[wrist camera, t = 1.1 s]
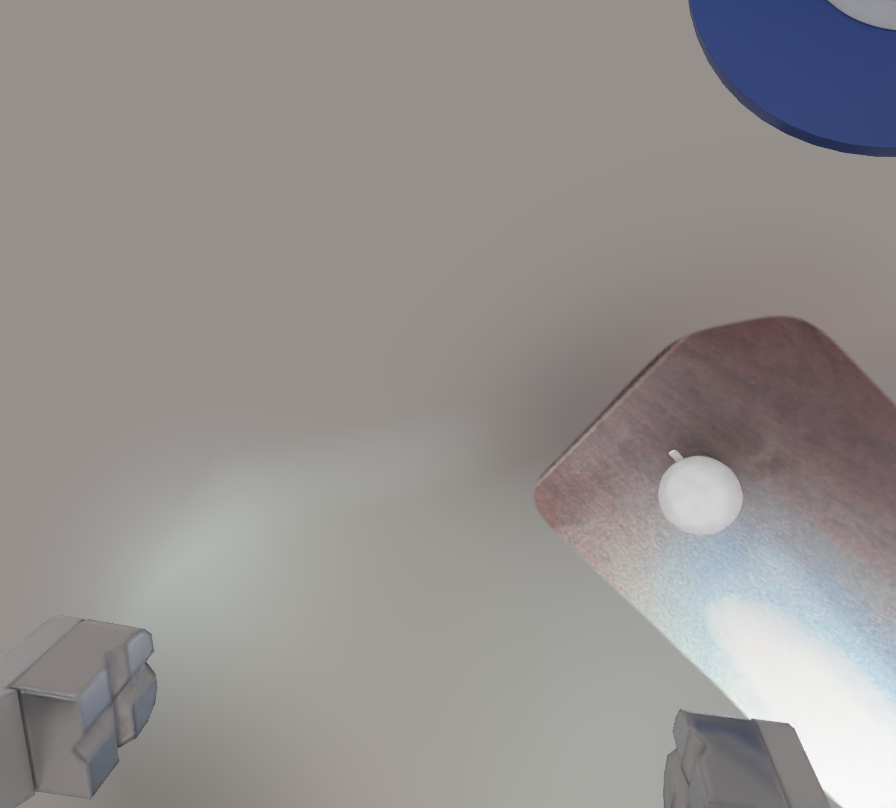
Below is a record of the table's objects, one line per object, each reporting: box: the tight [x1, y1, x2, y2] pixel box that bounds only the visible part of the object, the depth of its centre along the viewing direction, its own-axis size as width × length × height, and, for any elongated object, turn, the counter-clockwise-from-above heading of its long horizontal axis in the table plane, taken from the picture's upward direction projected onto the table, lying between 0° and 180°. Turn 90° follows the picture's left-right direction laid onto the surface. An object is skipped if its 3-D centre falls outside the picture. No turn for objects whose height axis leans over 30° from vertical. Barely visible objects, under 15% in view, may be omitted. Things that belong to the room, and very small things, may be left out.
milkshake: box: [658, 449, 743, 535], centre depth 42 cm, size 4×5×10 cm
